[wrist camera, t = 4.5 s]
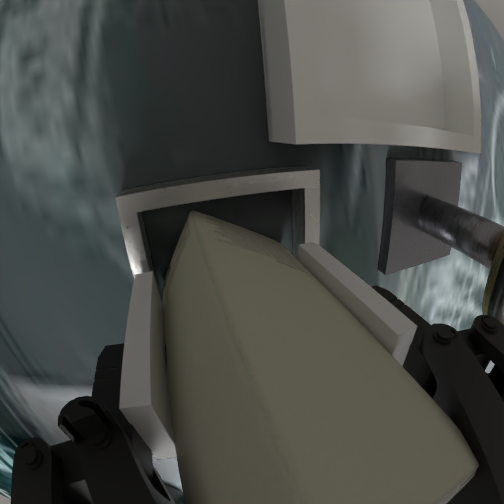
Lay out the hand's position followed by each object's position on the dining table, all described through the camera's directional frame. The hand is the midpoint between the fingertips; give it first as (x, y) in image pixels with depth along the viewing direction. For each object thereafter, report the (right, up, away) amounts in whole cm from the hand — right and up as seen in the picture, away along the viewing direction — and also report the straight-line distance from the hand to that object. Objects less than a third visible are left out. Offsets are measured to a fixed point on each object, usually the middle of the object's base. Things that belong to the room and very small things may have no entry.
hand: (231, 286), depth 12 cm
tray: (+7, +13, -1) cm, 15 cm away
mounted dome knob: (+12, +4, +4) cm, 13 cm away
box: (0, +1, +2) cm, 2 cm away
